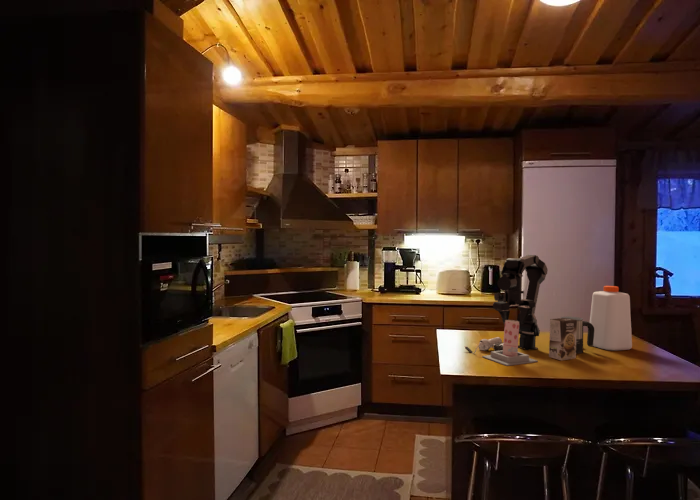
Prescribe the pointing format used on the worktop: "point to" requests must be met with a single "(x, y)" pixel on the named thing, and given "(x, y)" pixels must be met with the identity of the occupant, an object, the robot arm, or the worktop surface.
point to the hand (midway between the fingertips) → (513, 324)
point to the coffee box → (562, 338)
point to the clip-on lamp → (489, 344)
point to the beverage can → (511, 338)
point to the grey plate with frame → (509, 358)
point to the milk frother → (580, 333)
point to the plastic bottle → (611, 319)
